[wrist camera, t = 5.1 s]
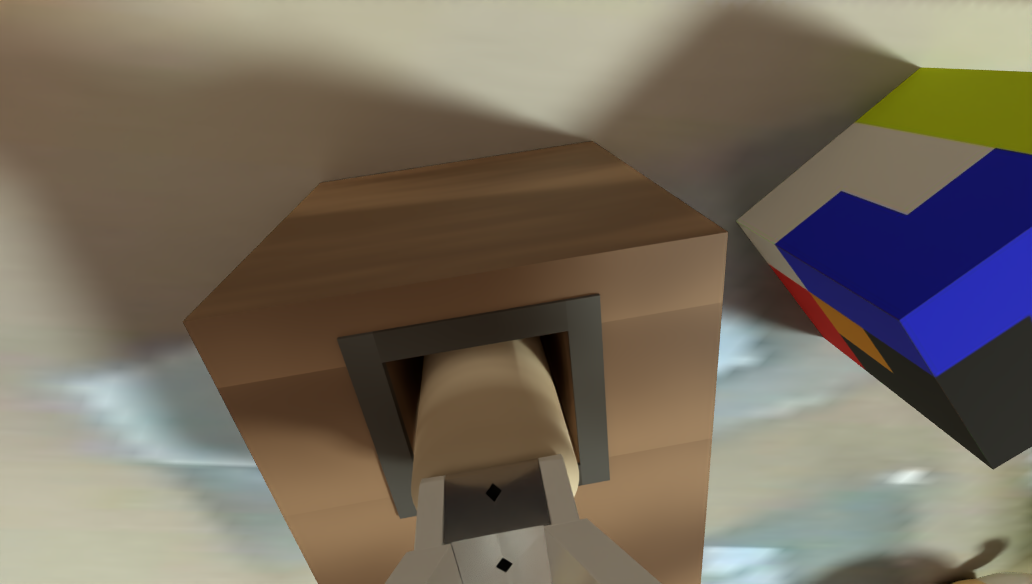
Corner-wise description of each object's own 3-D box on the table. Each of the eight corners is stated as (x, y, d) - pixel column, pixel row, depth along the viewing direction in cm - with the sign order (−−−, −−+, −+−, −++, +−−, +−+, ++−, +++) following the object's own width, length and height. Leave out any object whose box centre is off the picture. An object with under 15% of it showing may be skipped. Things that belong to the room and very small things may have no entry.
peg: (522, 299, 22) (584, 527, 11) (441, 313, 21) (430, 556, 11) (511, 223, 20) (572, 407, 10) (424, 237, 20) (392, 439, 10)
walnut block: (608, 441, 30) (698, 669, 19) (413, 477, 29) (389, 732, 18) (592, 141, 22) (734, 236, 11) (320, 182, 21) (175, 329, 10)
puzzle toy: (735, 220, 24) (898, 320, 15) (918, 67, 22) (1238, 80, 13) (822, 336, 28) (993, 469, 19) (986, 217, 26) (1266, 306, 17)
